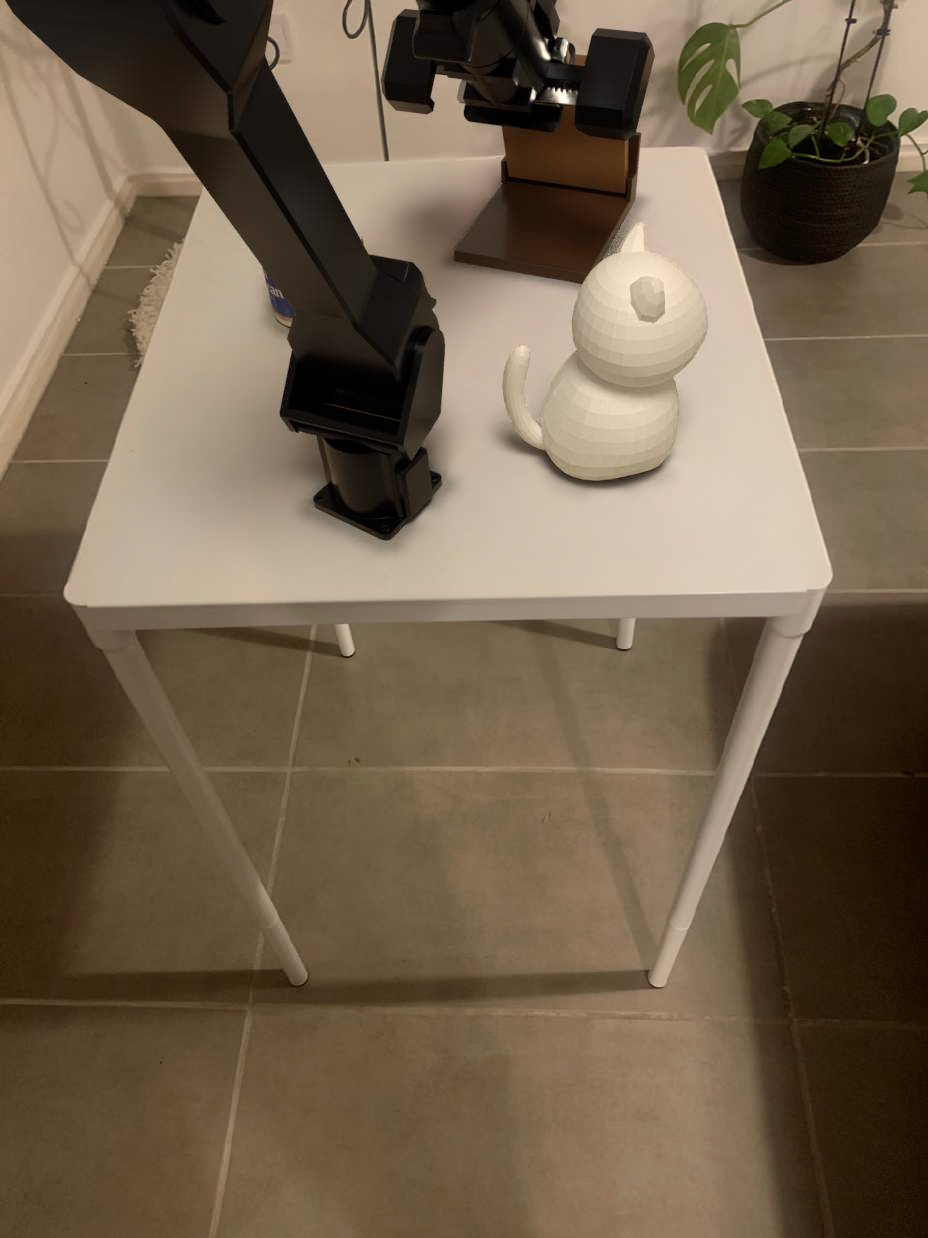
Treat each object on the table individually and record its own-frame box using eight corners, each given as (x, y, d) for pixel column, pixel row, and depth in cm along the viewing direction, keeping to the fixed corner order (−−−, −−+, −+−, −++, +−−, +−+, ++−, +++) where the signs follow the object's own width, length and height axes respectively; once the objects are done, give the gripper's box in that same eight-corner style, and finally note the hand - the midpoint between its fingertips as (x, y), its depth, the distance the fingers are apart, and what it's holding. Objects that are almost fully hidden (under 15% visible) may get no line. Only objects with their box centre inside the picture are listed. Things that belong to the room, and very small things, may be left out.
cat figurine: (698, 491, 62) (738, 289, 50) (510, 506, 62) (505, 308, 50) (672, 403, 67) (703, 203, 56) (499, 417, 67) (493, 220, 56)
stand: (589, 285, 77) (593, 215, 72) (452, 260, 80) (448, 192, 76) (636, 199, 85) (642, 132, 80) (510, 181, 88) (509, 114, 83)
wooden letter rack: (624, 81, 73) (635, 56, 73) (492, 66, 76) (504, 42, 76) (625, 194, 83) (634, 170, 83) (508, 176, 86) (518, 154, 86)
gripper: (664, -113, 55) (685, 24, 69) (377, -129, 60) (454, 2, 75) (615, 87, 56) (646, 179, 71) (340, 55, 62) (423, 147, 76)
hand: (540, 122), depth 73 cm, fingers closed
